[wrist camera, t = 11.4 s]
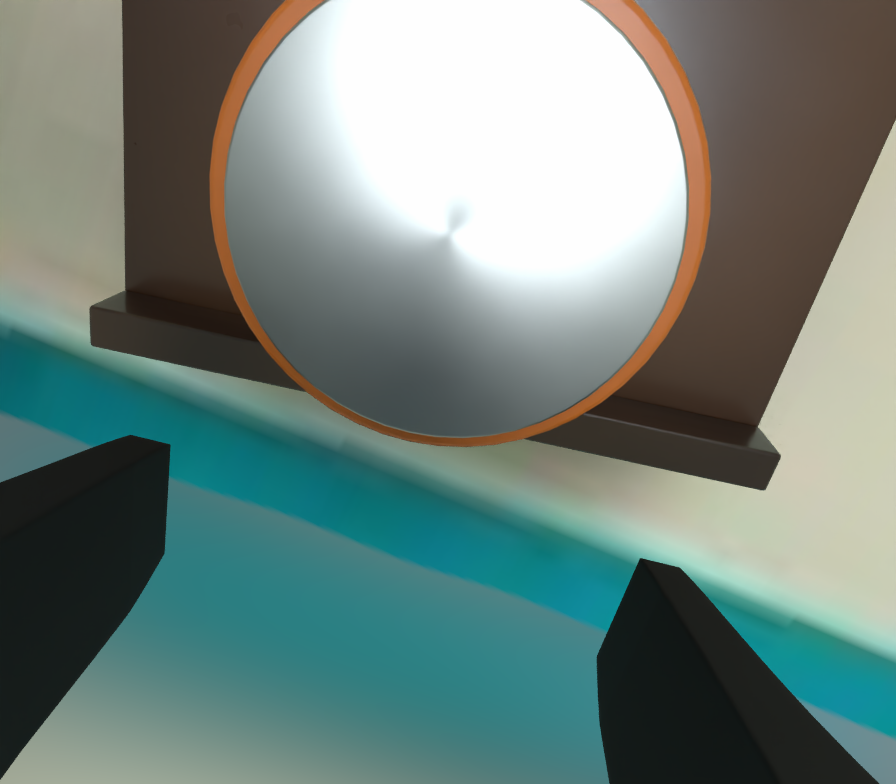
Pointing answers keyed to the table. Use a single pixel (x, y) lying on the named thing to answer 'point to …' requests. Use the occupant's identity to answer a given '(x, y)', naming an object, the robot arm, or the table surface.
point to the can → (460, 207)
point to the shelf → (727, 243)
